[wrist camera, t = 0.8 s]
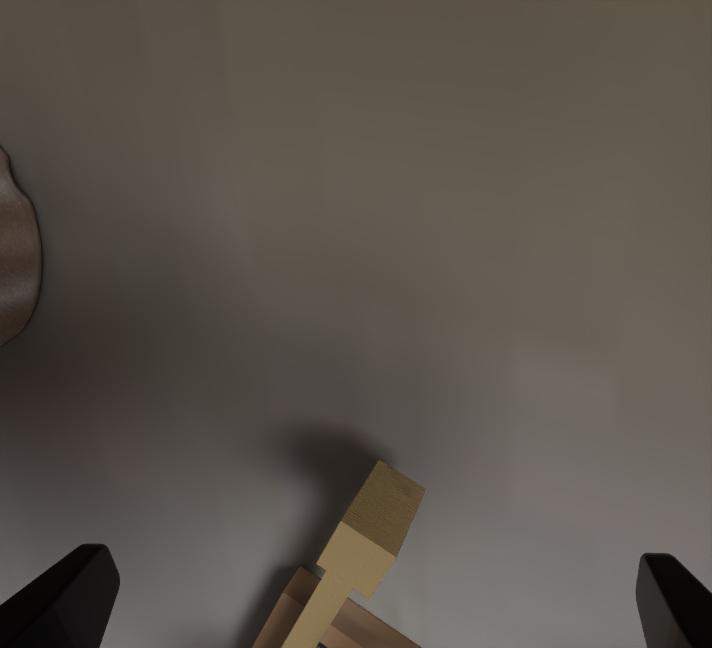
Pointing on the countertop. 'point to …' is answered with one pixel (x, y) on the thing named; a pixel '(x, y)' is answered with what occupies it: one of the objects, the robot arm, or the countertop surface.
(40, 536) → the countertop surface
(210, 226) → the countertop surface
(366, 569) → the bar
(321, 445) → the countertop surface
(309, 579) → the walnut socket
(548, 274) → the countertop surface
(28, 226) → the plant pot
